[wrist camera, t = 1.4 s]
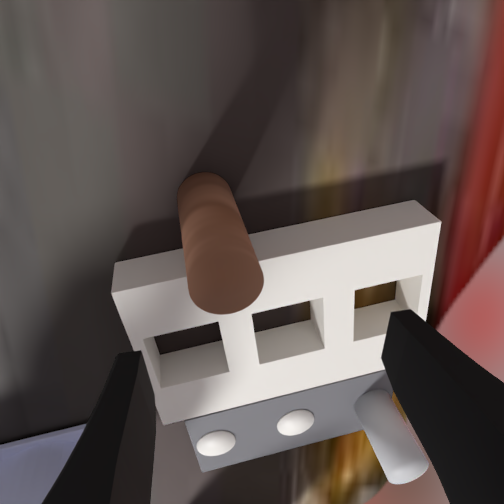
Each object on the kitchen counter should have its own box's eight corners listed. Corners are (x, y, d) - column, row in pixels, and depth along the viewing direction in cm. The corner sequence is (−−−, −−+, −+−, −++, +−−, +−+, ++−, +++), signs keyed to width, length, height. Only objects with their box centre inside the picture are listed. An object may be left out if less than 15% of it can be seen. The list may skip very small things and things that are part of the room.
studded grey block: (200, 452, 31) (210, 552, 25) (183, 401, 27) (191, 503, 22) (380, 405, 32) (426, 490, 27) (384, 351, 29) (438, 435, 24)
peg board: (162, 390, 26) (163, 425, 24) (114, 262, 21) (110, 293, 19) (399, 332, 28) (419, 360, 26) (414, 199, 23) (441, 221, 20)
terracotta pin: (183, 226, 21) (196, 321, 15) (171, 178, 19) (180, 262, 13) (234, 216, 21) (267, 305, 15) (227, 167, 19) (259, 245, 14)
